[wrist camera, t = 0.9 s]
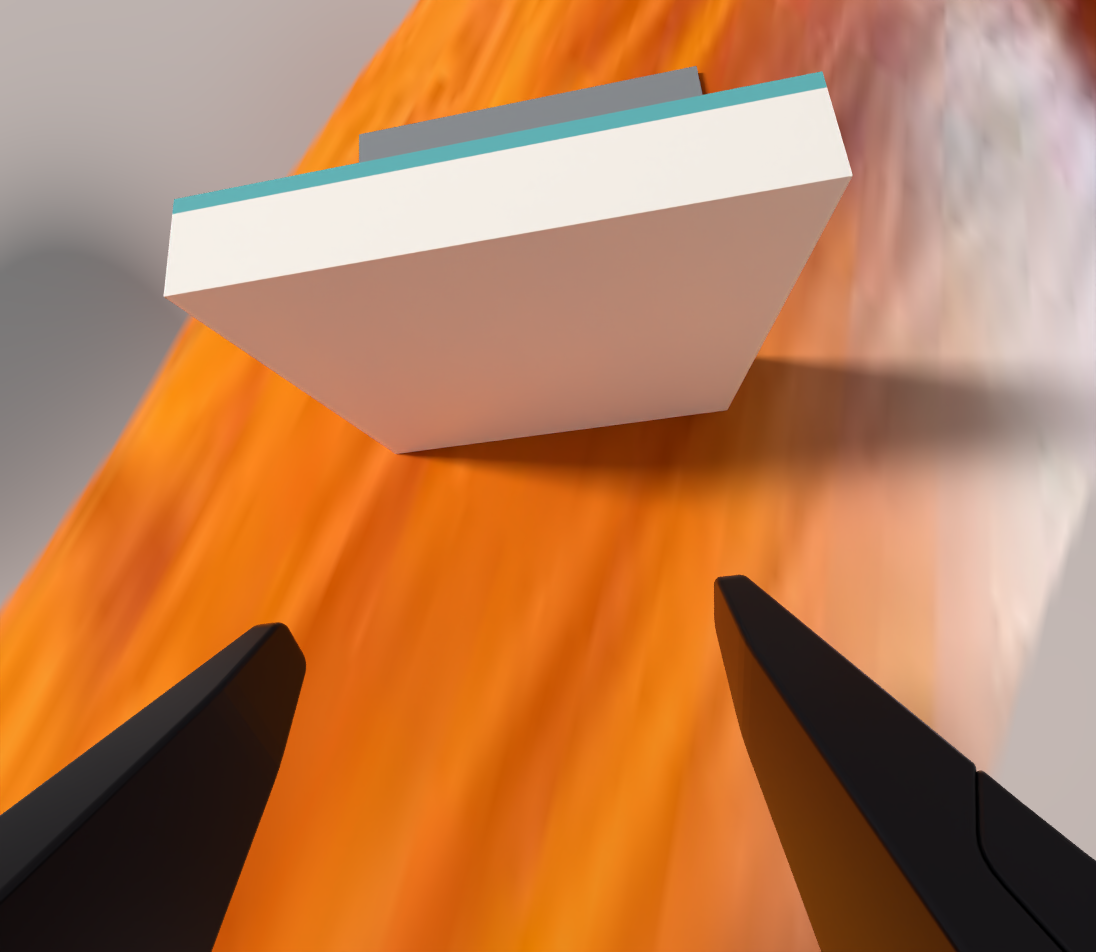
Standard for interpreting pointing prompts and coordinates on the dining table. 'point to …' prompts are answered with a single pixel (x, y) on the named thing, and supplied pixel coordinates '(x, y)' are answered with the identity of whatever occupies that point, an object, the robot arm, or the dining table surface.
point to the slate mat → (531, 114)
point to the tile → (525, 267)
